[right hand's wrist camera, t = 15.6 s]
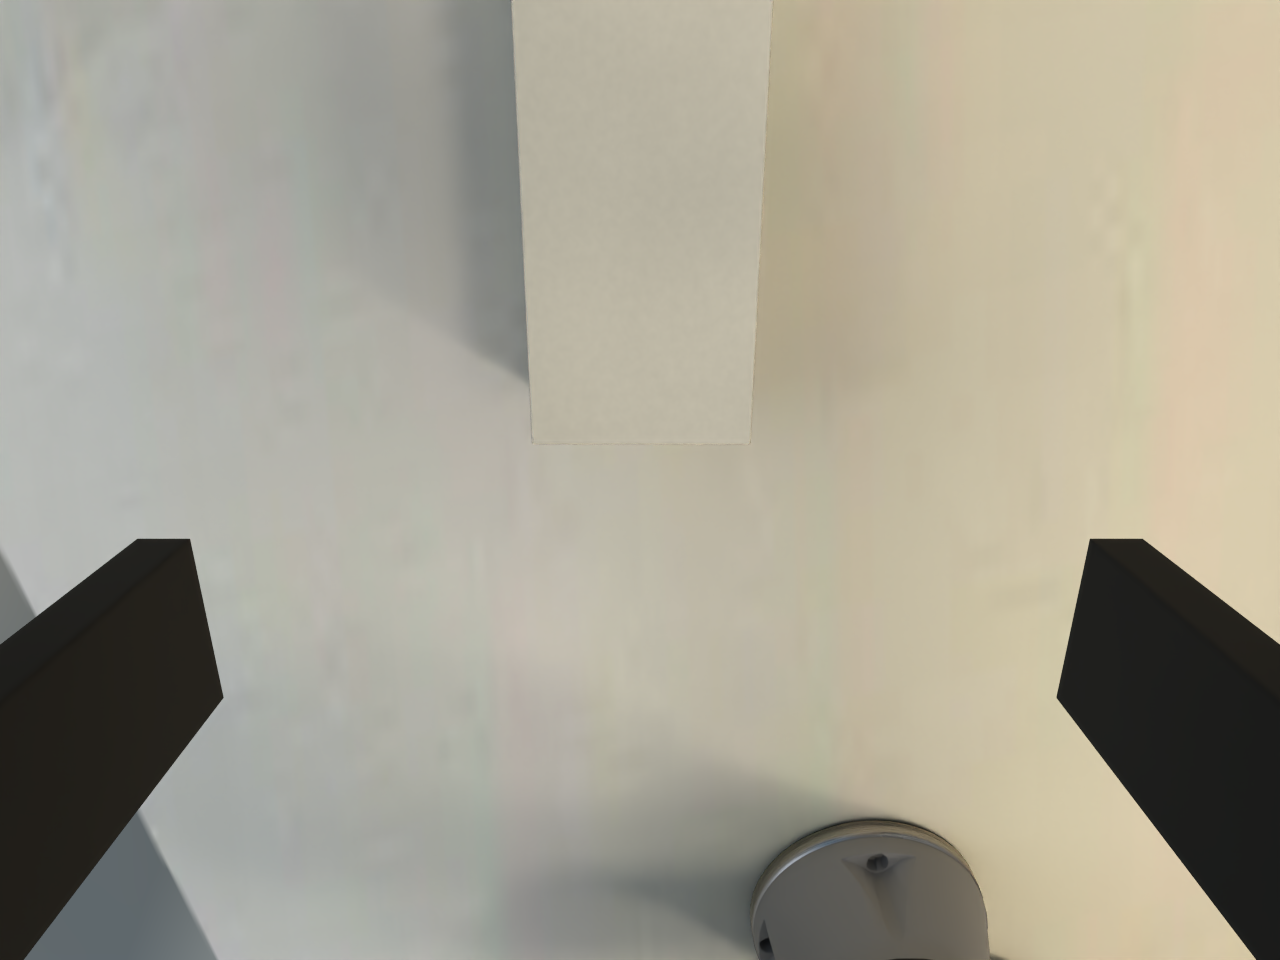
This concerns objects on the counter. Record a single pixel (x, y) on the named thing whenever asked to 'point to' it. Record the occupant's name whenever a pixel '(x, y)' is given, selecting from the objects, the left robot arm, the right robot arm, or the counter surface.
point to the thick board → (641, 215)
